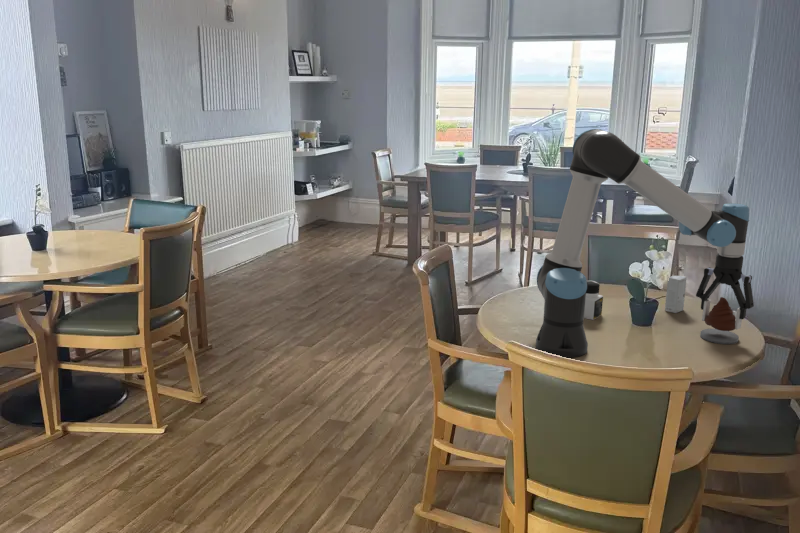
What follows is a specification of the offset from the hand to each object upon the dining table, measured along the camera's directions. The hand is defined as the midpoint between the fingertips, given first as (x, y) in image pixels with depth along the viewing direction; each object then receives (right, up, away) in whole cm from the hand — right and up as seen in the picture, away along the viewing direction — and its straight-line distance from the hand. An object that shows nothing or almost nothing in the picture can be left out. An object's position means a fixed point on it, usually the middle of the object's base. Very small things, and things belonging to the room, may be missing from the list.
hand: (721, 324), depth 218 cm
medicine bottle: (-36, +1, +22) cm, 42 cm away
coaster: (0, -5, +1) cm, 5 cm away
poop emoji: (0, -1, 0) cm, 1 cm away
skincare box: (-4, +2, +29) cm, 29 cm away
